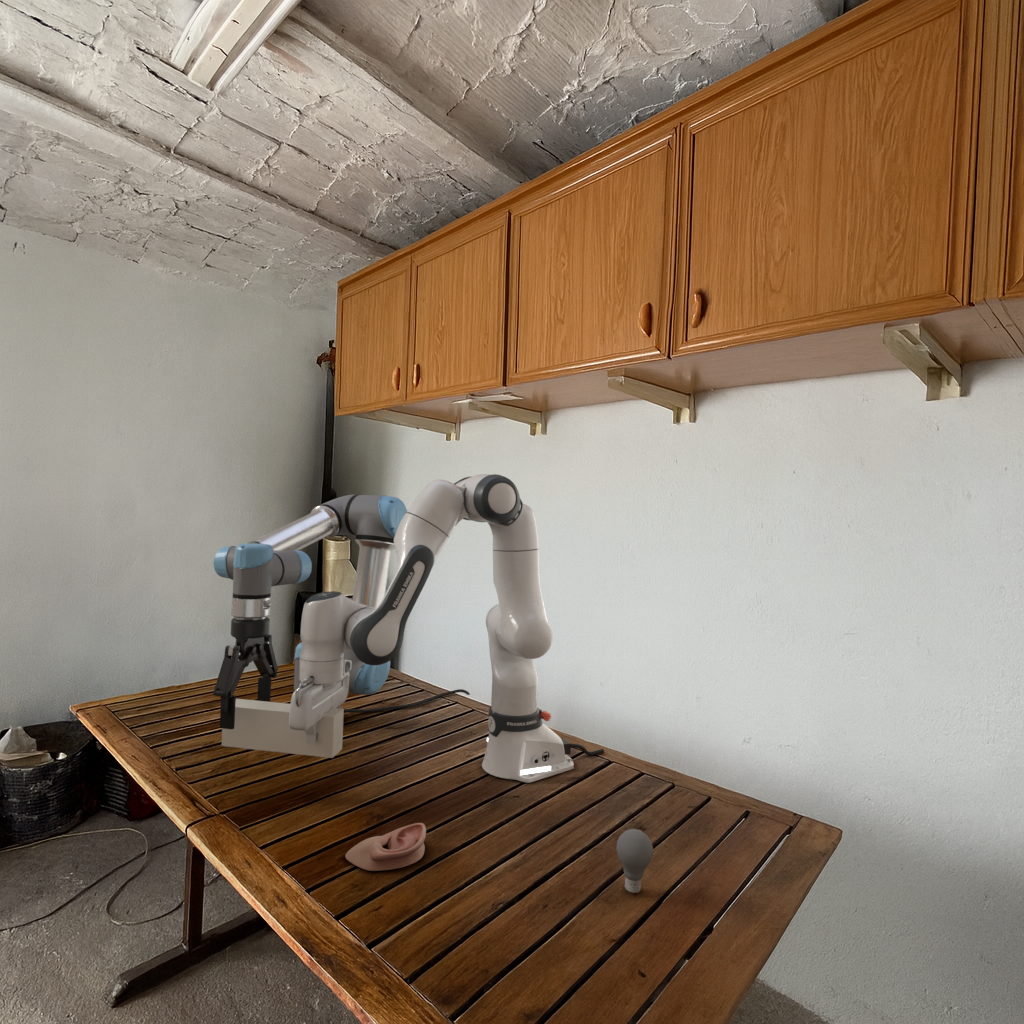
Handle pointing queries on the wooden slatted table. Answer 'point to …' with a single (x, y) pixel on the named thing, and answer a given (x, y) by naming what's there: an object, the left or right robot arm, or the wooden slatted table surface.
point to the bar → (281, 730)
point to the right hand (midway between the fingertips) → (319, 736)
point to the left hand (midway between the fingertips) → (246, 717)
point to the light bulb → (634, 857)
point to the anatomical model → (390, 849)
